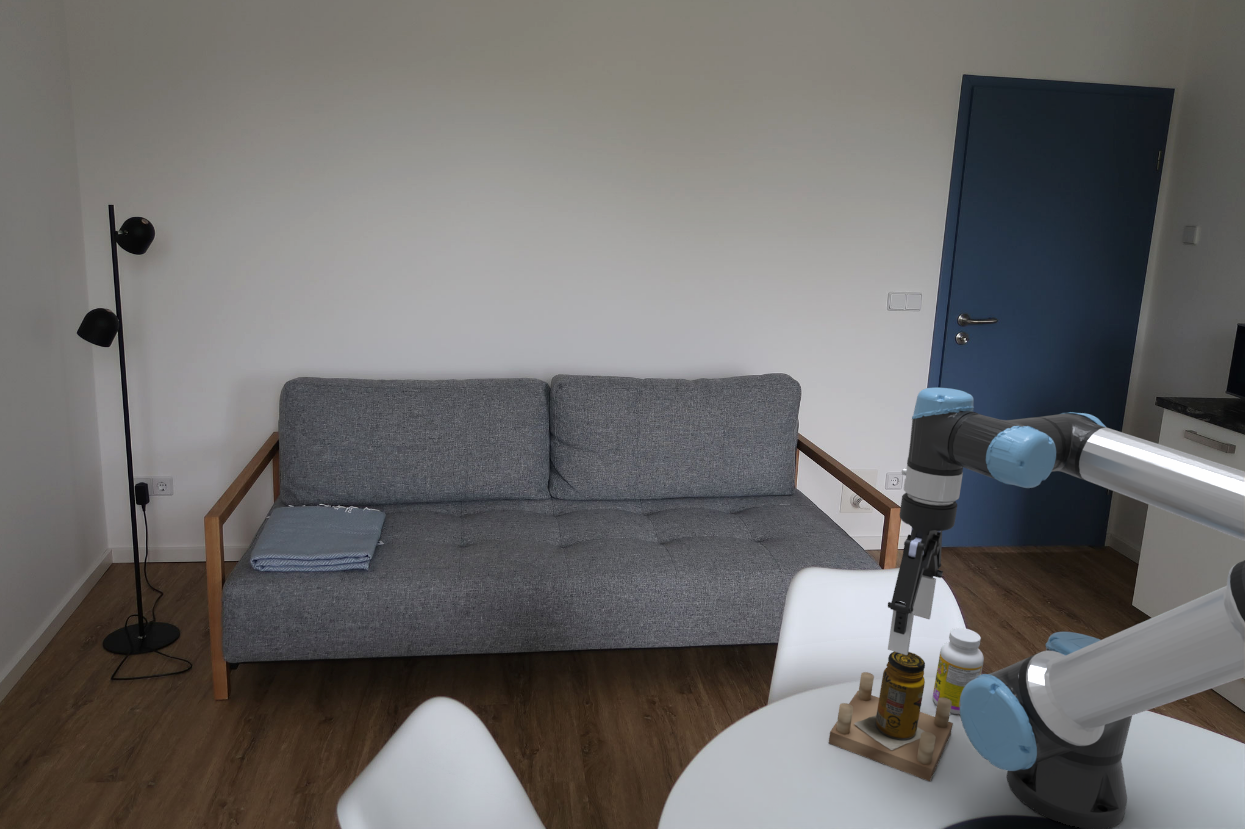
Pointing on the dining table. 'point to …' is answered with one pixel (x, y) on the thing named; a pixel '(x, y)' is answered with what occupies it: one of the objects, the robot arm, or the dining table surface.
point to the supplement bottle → (957, 666)
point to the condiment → (898, 702)
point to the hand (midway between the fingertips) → (909, 633)
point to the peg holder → (907, 758)
